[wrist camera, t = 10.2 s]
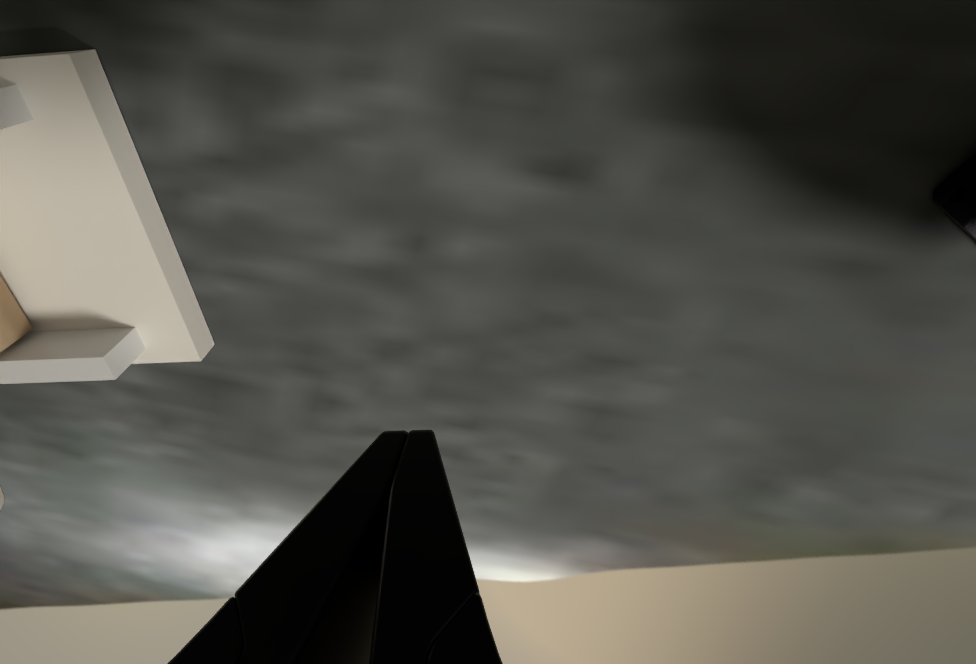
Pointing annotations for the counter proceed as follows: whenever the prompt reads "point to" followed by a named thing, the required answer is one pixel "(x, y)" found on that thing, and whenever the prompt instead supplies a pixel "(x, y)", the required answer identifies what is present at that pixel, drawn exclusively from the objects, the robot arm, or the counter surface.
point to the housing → (84, 232)
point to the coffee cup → (1, 498)
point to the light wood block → (10, 318)
